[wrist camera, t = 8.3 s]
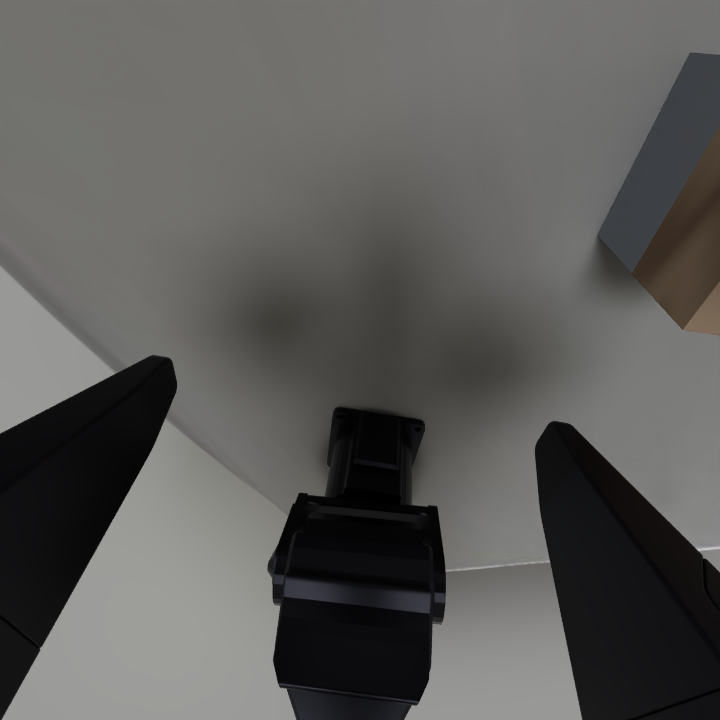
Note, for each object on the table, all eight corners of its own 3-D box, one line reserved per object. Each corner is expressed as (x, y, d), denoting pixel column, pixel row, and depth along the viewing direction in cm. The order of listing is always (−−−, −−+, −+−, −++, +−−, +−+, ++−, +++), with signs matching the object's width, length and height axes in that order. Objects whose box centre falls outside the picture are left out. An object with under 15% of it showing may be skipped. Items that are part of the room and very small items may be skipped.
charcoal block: (668, 245, 19) (717, 285, 16) (596, 234, 19) (631, 272, 16) (782, 66, 15) (878, 76, 12) (688, 52, 15) (760, 58, 12)
